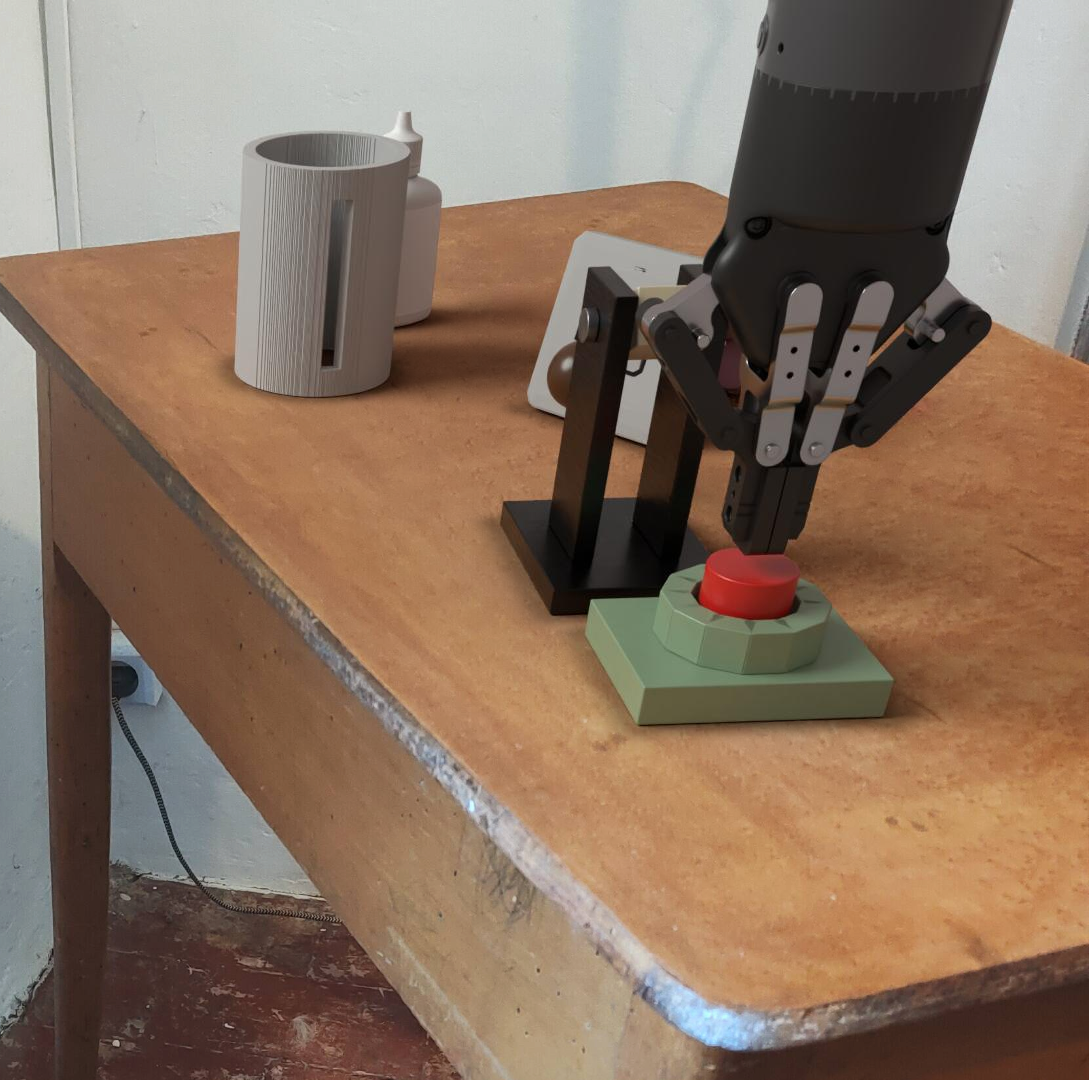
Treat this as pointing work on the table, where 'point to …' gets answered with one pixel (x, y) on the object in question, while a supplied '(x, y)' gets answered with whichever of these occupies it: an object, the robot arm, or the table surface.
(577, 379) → the bracket
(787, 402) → the robot arm
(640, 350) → the lever
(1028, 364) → the table surface
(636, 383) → the electrical switch
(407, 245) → the eye dropper bottle
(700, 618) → the button block
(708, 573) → the button
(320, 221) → the cup
